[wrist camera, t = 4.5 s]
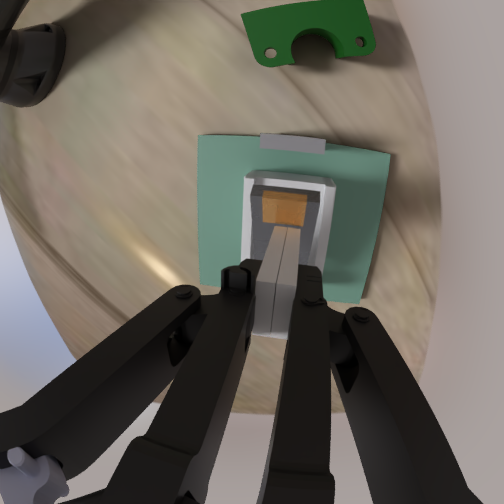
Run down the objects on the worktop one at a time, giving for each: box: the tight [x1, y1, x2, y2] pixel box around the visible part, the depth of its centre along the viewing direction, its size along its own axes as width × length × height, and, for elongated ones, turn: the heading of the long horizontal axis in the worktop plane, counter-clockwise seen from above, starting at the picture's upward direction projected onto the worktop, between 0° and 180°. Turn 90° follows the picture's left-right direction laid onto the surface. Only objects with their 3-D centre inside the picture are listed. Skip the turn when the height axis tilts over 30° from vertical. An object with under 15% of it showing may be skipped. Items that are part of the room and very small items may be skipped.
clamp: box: [241, 0, 376, 67], centre depth 19 cm, size 12×6×9 cm, turn 96°
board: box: [197, 133, 391, 304], centre depth 27 cm, size 18×20×8 cm
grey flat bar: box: [250, 184, 320, 265], centre depth 20 cm, size 14×4×2 cm
